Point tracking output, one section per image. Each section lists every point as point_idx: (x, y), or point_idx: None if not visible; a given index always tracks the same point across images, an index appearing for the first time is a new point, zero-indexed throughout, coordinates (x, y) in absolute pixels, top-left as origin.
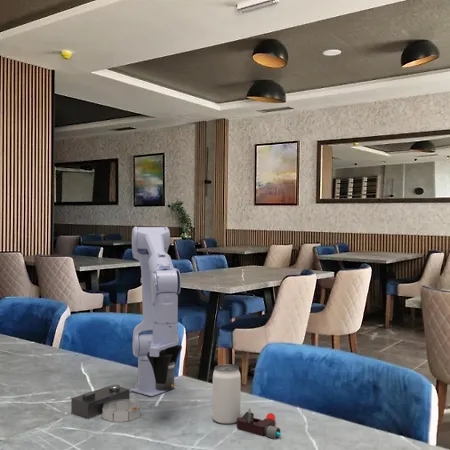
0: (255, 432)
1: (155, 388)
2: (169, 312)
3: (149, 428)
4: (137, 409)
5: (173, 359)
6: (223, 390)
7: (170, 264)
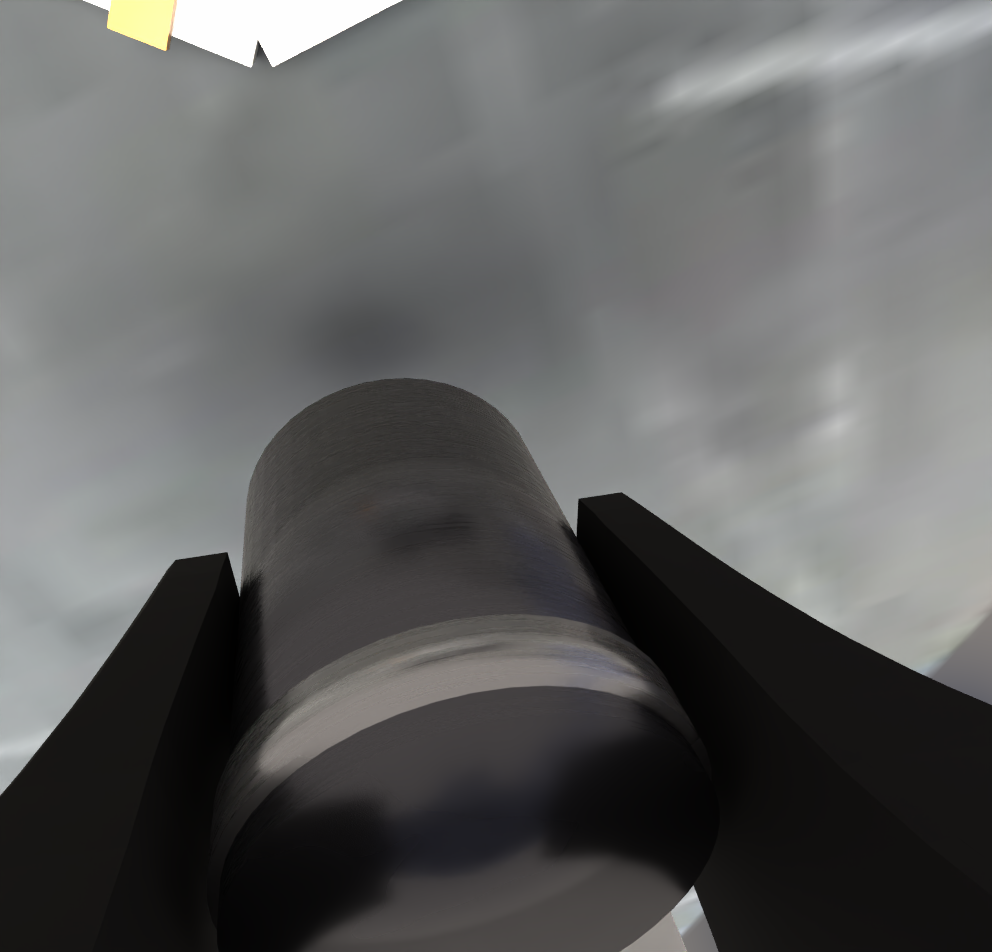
0: None
1: (298, 415)
2: None
3: (18, 328)
4: (209, 47)
5: (722, 913)
6: None
7: None
